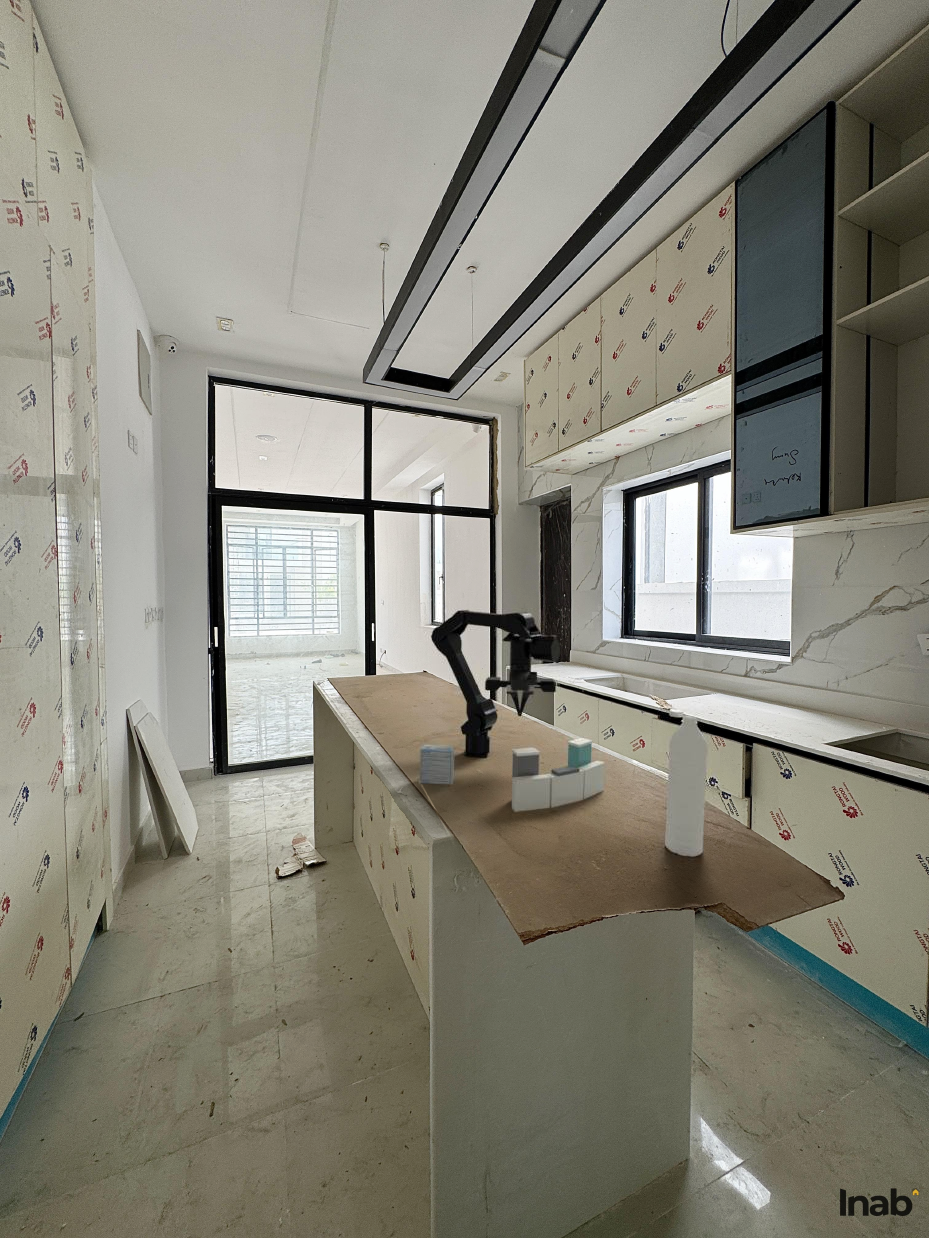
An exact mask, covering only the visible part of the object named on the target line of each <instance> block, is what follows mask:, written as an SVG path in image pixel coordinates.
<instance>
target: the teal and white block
mask: <svg viewBox="0 0 929 1238" xmlns="http://www.w3.org/2000/svg"><path fill="white" fill-rule="evenodd" d="M567 744H568V745H567V746H568V750H567V751H568V754H567V766H571V765H573V766H575V767H577V768H579V767H581V766H584V765H587V764H589V763H592V744H593V740H592V739H588V738H584V737H579V738H576V739H572V740H568V741H567Z"/></svg>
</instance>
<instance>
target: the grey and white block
mask: <svg viewBox="0 0 929 1238" xmlns="http://www.w3.org/2000/svg"><path fill="white" fill-rule="evenodd" d="M511 750H512V751H511V752H512V766H511V767H512V770H511V771H512V774H511V777H522V776H533V775H540V774H539V773H540V771H539V770H540V769H539V768H540V755H541V751H539V750H538V749H536V748H535V747H525V748H524V747H522V748H512V749H511Z"/></svg>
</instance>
